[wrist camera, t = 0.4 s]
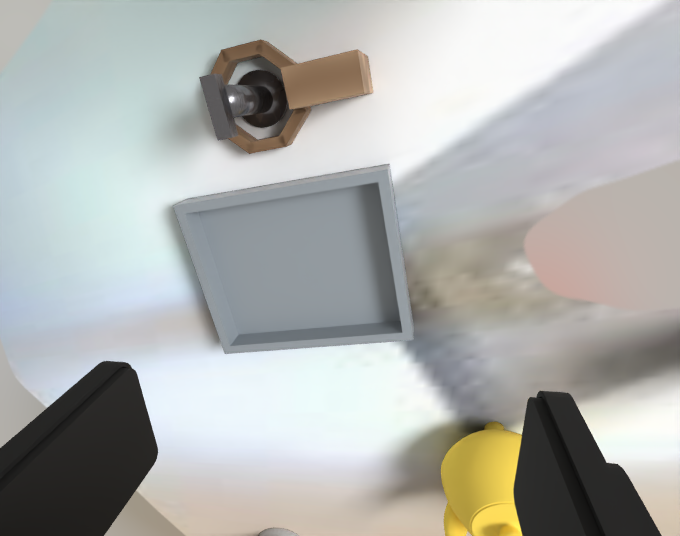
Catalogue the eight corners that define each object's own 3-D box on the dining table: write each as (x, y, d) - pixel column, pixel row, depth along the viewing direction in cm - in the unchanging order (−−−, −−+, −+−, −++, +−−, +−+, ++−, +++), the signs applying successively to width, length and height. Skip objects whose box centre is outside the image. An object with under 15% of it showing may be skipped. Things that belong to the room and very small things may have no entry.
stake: (230, 76, 39) (172, 72, 30) (280, 64, 38) (235, 56, 28) (245, 132, 41) (195, 145, 31) (293, 122, 39) (255, 132, 30)
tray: (187, 198, 44) (172, 205, 42) (389, 163, 39) (387, 169, 37) (235, 339, 51) (224, 353, 48) (413, 325, 46) (413, 340, 43)
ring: (204, 58, 38) (163, 52, 32) (361, 17, 35) (349, 1, 29) (232, 155, 42) (199, 167, 35) (378, 127, 38) (371, 134, 32)
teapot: (481, 523, 56) (496, 621, 46) (400, 463, 54) (396, 550, 44) (609, 451, 48) (662, 551, 38) (519, 377, 46) (548, 460, 36)
